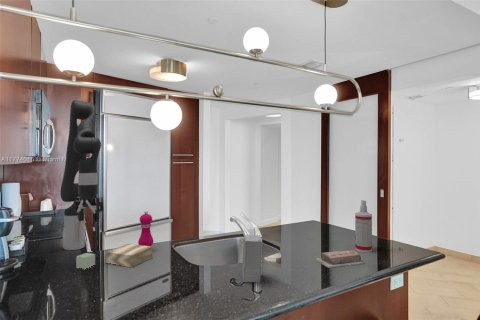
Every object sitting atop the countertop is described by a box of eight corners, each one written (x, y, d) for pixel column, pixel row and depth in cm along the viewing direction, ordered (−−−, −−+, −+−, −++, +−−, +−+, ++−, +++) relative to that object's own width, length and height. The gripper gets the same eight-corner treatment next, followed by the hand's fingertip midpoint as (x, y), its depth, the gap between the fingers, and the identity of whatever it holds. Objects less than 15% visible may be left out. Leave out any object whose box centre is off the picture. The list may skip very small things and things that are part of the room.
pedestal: (105, 263, 131) (105, 252, 131) (127, 254, 144) (128, 243, 144) (132, 267, 126) (132, 255, 126) (152, 257, 139) (152, 246, 139)
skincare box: (241, 274, 118) (241, 234, 118) (259, 274, 119) (259, 234, 119) (243, 283, 110) (243, 240, 110) (262, 282, 110) (262, 239, 110)
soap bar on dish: (350, 247, 140) (364, 254, 130) (349, 257, 140) (364, 265, 130) (315, 250, 135) (328, 257, 125) (315, 261, 135) (328, 269, 125)
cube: (76, 268, 125) (76, 256, 125) (86, 264, 130) (86, 252, 130) (85, 269, 123) (85, 257, 123) (95, 265, 128) (95, 254, 128)
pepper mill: (144, 254, 144) (144, 212, 144) (135, 251, 148) (135, 211, 148) (156, 250, 149) (156, 210, 149) (147, 248, 154) (147, 209, 154)
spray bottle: (352, 249, 152) (352, 200, 152) (360, 246, 156) (360, 199, 156) (366, 253, 146) (366, 201, 146) (374, 250, 150) (374, 200, 150)
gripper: (68, 184, 128) (68, 222, 127) (93, 184, 122) (93, 224, 122) (83, 183, 135) (83, 219, 134) (107, 183, 129) (108, 220, 129)
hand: (88, 221), depth 128 cm, fingers open, 8 cm apart
